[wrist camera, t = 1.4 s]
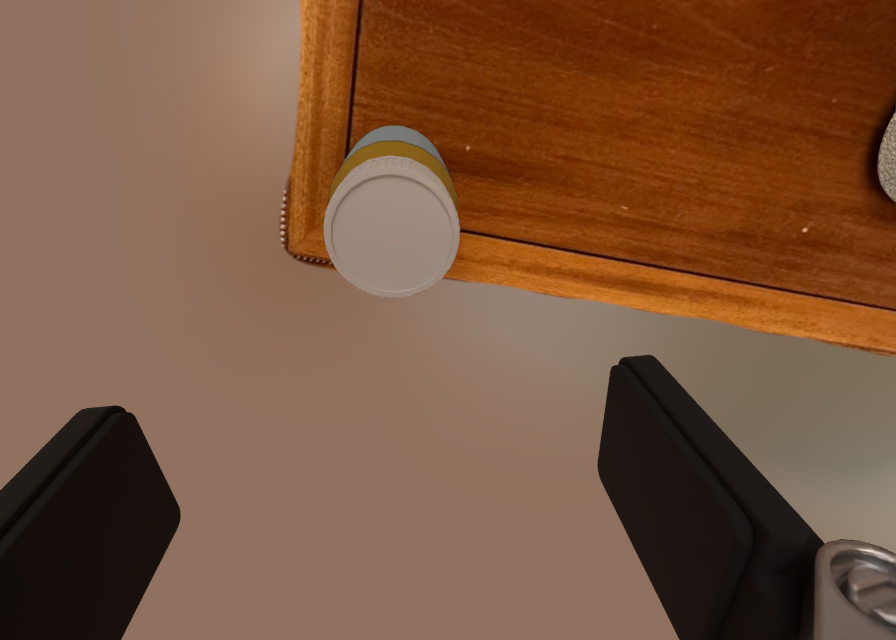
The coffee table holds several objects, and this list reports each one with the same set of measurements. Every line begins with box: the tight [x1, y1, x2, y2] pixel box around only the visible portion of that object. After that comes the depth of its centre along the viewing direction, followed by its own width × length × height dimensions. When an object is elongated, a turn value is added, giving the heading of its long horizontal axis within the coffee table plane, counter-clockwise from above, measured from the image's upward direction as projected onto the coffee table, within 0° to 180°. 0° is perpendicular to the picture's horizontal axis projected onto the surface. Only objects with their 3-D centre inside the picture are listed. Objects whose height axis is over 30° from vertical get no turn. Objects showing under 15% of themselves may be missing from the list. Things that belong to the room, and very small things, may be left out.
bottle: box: [323, 125, 460, 298], centre depth 27 cm, size 7×7×15 cm
